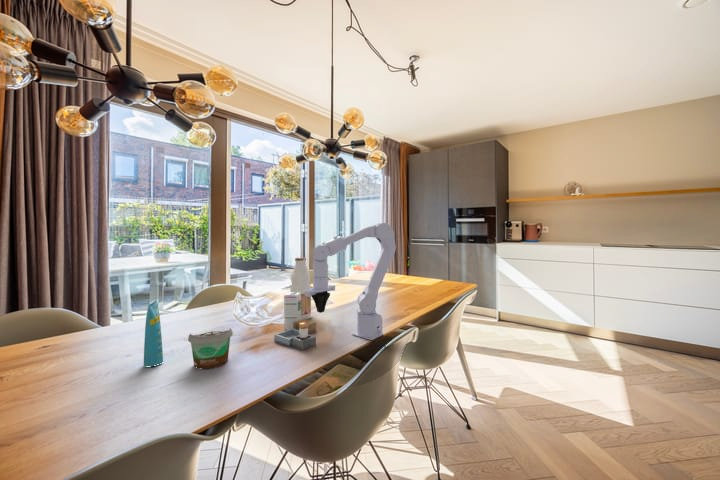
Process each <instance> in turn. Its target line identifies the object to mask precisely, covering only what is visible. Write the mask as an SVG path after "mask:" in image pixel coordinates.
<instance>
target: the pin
mask: <svg viewBox="0 0 720 480" xmlns="http://www.w3.org/2000/svg"><path fill="white" fill-rule="evenodd" d="M307 338H308V322H300V323H299V339H301V340H305V339H307Z"/></svg>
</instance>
